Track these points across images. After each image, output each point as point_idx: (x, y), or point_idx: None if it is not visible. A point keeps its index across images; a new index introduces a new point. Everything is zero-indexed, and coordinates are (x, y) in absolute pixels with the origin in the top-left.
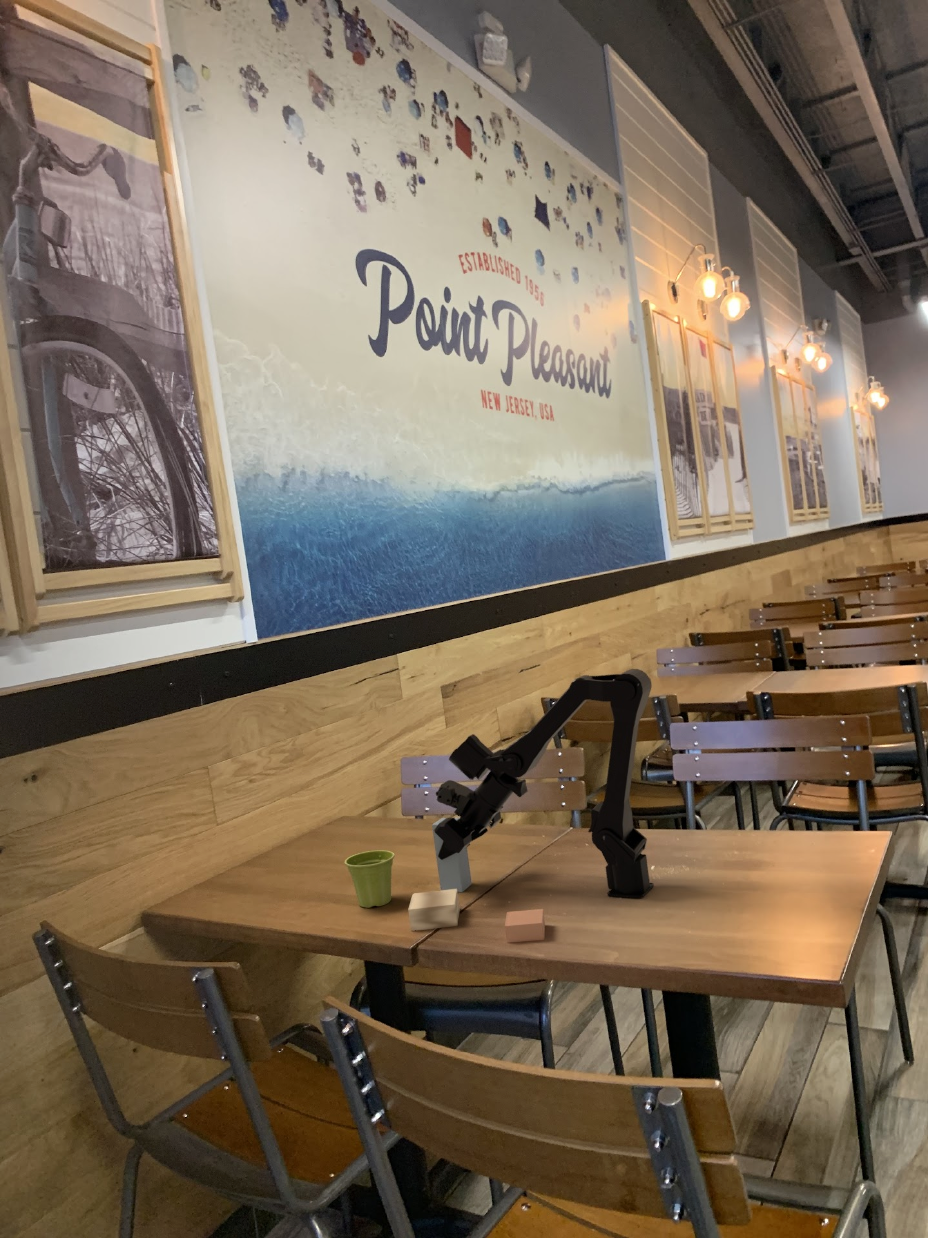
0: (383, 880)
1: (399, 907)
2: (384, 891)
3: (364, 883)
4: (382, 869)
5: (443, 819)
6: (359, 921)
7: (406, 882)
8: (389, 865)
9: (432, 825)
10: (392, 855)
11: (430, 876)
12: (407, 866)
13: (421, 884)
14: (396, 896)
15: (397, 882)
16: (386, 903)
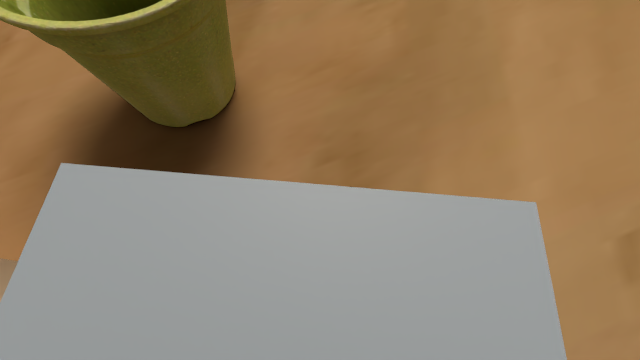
0: (92, 72)
1: None
2: (127, 99)
3: (65, 18)
4: (37, 36)
5: (424, 284)
6: (31, 99)
7: (363, 112)
8: (78, 48)
9: (62, 178)
10: (132, 15)
11: (425, 171)
12: (505, 63)
13: (344, 169)
14: (234, 128)
15: (362, 85)
16: (160, 123)
